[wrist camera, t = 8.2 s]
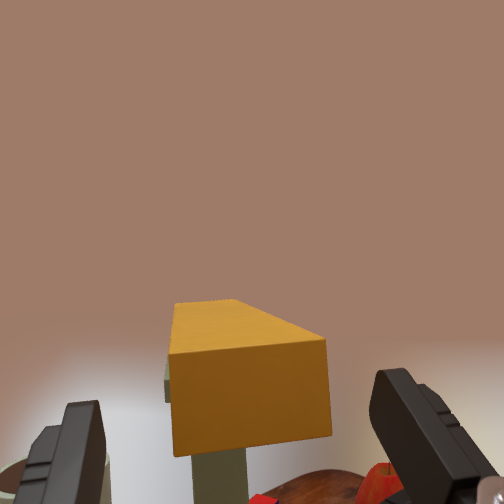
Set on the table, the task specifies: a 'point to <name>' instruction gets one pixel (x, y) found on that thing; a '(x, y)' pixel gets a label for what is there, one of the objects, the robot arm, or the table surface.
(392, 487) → the apple
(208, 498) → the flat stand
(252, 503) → the toy building block
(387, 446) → the robot arm
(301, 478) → the table surface
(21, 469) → the hollow cylinder with base
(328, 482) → the table surface
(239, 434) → the rectangular block
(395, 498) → the handgun
